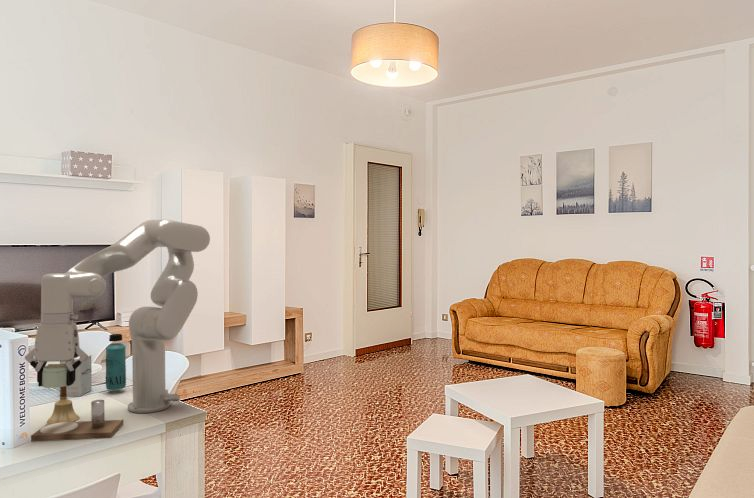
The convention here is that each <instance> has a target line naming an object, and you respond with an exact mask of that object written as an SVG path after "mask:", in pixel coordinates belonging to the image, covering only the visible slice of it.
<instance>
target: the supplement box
mask: <svg viewBox="0 0 754 498" xmlns="http://www.w3.org/2000/svg"><path fill="white" fill-rule="evenodd" d="M87 355H88V357H87V358H86V359H85V360H84V361H83V362H82V364H81V365H79V366H78V367H77V369H76V374H75V382H74V383H73V384H72V385H70V386H67V387H66V391H67V397H82V396H83V395H85V394H86V393H88V392H90V391H92V389H93V388H92V387H93V386H92V385H93V384H92V382H93V381H92V368H93V367H92V354H87ZM79 358H80V356H78V357H77V358H74V360H75V362H76V361H77V360H78V359H79ZM59 364H66V363H65V361H59ZM60 395H61V394H60V393H59V396H60Z"/></svg>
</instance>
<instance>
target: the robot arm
mask: <svg viewBox="0 0 754 498" xmlns="http://www.w3.org/2000/svg"><path fill="white" fill-rule="evenodd" d="M210 242H211V237H210V233H209V231H208V230H207V229H206V227H203V226H202V225H198V224H192V223H186V222H181V221H175V220H171V219H149V220H145V221H143V222H141V223H140V224H139V225H138V226H136V227H135V228H133V229H132V230H131V231H129V232H128V233H127V234H126V235H124V236H123V237H122V238H120V239H119V240H118V241H116V242H115V243H113V244H112V245H110V246H107V247H105V248H103V249H101V250H100V251H98V252H96V253H93V254H91V255H89V256H87V257H85V258H84V259H82V260H81V261H79V262H78V263H76V264H75V265H73V267H70V269H68V270H67V271H66V272H65V273H55V272H54V273H46V274H44V275H43V276H42V277H41V286H40V287H41V290H40V291H41V292H40V296H41V297H40V302H41V303H40V324H38V325H37V330H36V334H35V339H34V348H33V349H31V350H30V352H28V353H27V354H26V355H25V356H24V360H26V362H27V363H29V364H30V365H29V366H31V367H32V368H33V369H34V371H35V372H37V373H36V382H37V384H38V387H42V371H43V367H45V366H47V365H48V363H49V362H53V363H54V362H60V361H65V363H66V365H67V367H68V371H67V381H66V385H67V386H70V385H72V384H73V383H74V382H75V374H76V369H77V367H78V366H79V365H81V364H82V362H83V361H84V360H85V359H86V358H87V357H88V355H89V354H87V353H86V352H85V351H84V350H83V349H82V348H81V347H80V336H79V331H78V330H79V329H78V325H77V323H76V322H74V321H76V320H78V319H79V314H75V313H74V299H84V300H93V299H96V298H99V297H100V296H102V295H103V294H104V293H105V291H106V288H107V282H106V280H105V276H107V275H109V274H113V273H116V272H121V271H124V270H127V269H129V268H132V267H134V266H136V265H137V264H138V263H139V262H140V261H142V259H144V258H145V257H147V255H149V254H150V253H151V252H153V251H154V250H155V249H156V248H161V247H162V248H167V252H168V260H167V263H166V265H165V268H164V269H163V270H162V272H161V274H160V275H159V277H158V279H157V281H156V282H155V283H154V285H153V287H152V288H151V292H150V299H151V301H152V302H153V304H154V305H156V306H157V307H156V306H155V307H154V306H140V307H139V308H136V309H135V310H134V311H133V312H132V313H131V315H130V316H129V319H128V329H129V336H130V340H131V346H132V347H131V349H132V350H131V351H132V358H131V359H132V401H131V402H130V403H129V404H128V405H127V410H128V411H129V412H131V413H135V414H139V413H140V414H146V413H147V414H148V413H155V412H159V411H162V410H166V409H168V408H170V406H171V405H172V402H179V401H180V399H181V398H180V394H178V393H170V392H169V389H166V347H165V342H164V341H169V340H172V339H174V338H175V337H176V336H178V335H179V333H180V332H181V330H182V329H183V327H184V325H185V324H186V322H187V320H188V319H189V316H190V315H191V313H192V311H193V309H194V308H195V306H196V303H197V302H198V301H197V300H198V293H199V292H198V288H197V285H196V284H195V283H194V282H193V281H191V280H190V278H191V277H192V275H193V272H194V268H195V264H194V263H195V262H194V257H193V253H198V252H202V251H204V250H206V249H207V248H208V246H209V245H210ZM192 252H193V253H192ZM158 306H159V307H158ZM78 356H80V358H79V359H78V360H77V361H76V362H75V360H74V358H77V357H78Z"/></svg>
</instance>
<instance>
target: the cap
mask: <svg viewBox="0 0 754 498" xmlns="http://www.w3.org/2000/svg"><path fill="white" fill-rule="evenodd" d="M67 371H68V367H67V365H66V364H60V363H49V364H48V363H47V365H46V366H45V367H43V371H42V386H41V387H43V388H45V389H50V388H51V389H58V388H60V387H64V386H67V385H66V381H67Z"/></svg>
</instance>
